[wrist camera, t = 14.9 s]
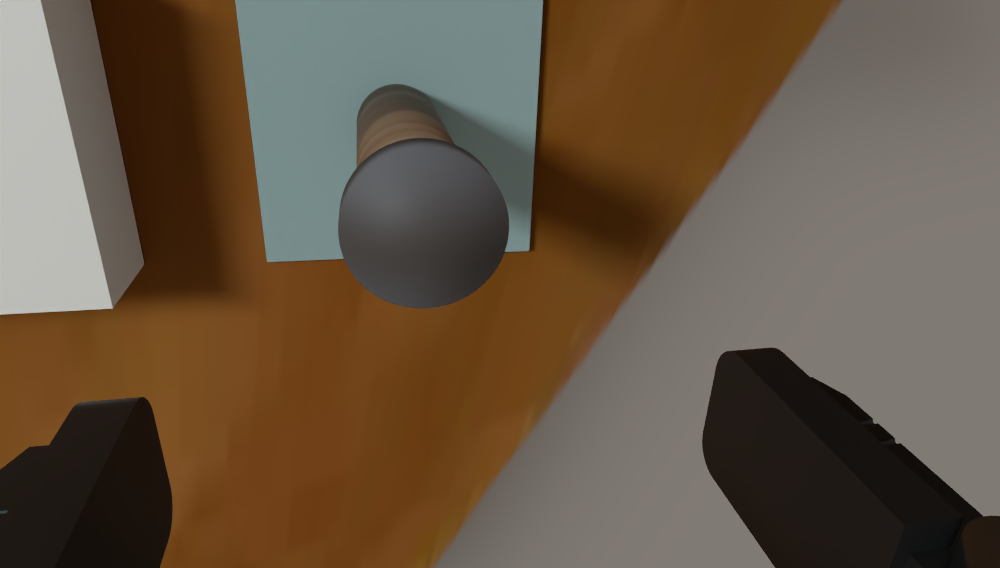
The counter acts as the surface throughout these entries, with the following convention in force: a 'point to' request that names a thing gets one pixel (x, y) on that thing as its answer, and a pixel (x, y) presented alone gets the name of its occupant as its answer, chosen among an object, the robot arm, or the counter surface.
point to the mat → (361, 70)
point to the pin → (418, 206)
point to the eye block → (60, 165)
